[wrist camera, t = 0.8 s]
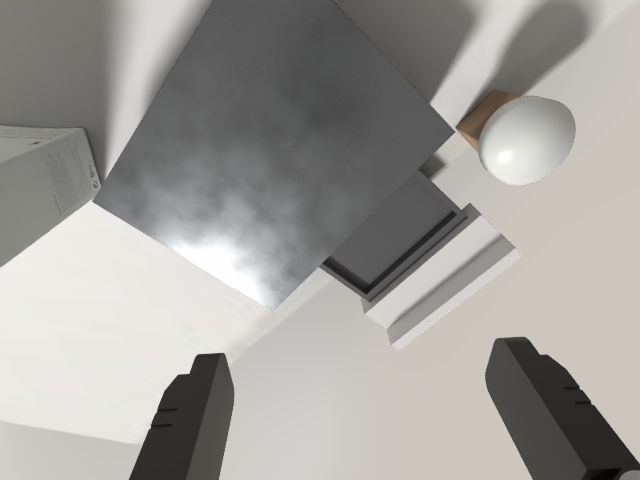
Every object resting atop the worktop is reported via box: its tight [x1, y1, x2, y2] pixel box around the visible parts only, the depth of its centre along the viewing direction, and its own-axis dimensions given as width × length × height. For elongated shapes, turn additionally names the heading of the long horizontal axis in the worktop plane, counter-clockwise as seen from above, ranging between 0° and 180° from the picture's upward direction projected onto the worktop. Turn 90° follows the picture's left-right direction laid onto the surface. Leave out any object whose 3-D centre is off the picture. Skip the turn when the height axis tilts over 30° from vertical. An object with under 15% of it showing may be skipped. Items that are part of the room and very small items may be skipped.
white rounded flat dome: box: [478, 96, 576, 185], centre depth 25 cm, size 6×6×2 cm
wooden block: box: [456, 90, 520, 152], centre depth 28 cm, size 4×4×5 cm
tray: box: [319, 169, 523, 350], centre depth 33 cm, size 15×18×5 cm
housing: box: [92, 0, 455, 311], centre depth 27 cm, size 20×16×7 cm
